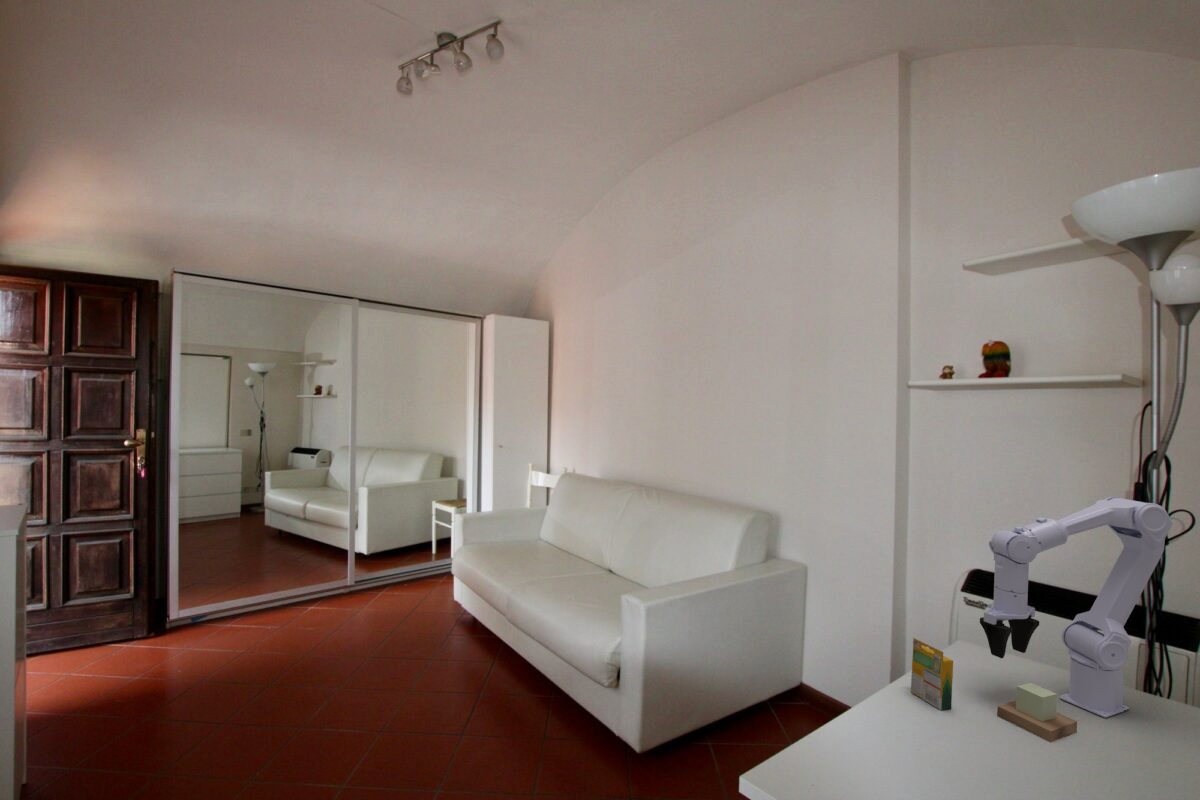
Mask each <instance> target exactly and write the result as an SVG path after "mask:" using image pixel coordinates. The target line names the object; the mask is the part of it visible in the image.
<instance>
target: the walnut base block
mask: <svg viewBox="0 0 1200 800" xmlns="http://www.w3.org/2000/svg"><path fill="white" fill-rule="evenodd" d="M996 712H997V713H996V715H997V717H998V718H1001V719H1002V720H1004V721H1007V722H1008V723H1010V724H1013V725H1015V726H1017V727H1019V728H1021V729H1023V730H1024V731H1027V732H1029V733H1031V734H1033V735H1036V736H1037V737H1039V738H1041V739H1043V740H1046V741H1047V742H1049V743H1052V742H1055V741H1057V740H1060V739H1063V738H1065V737H1067V736H1070V735H1073V734H1075V733H1077V732H1078V721H1077V720H1075V719H1072V718H1070V717H1068V716H1065V715H1064V714H1061V713H1059V712H1057V711H1056V718H1053V719H1049V720H1046V721H1040V720H1038V719H1035V718H1033V717H1031V716H1029V715H1027V714H1025V713H1023V712H1021V711H1019V710H1017V709H1016V700H1013V701H1012V700H1011V701H1009V702H1005V703H1003V704H1000V705H997V711H996Z"/></svg>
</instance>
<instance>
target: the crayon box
mask: <svg viewBox="0 0 1200 800" xmlns="http://www.w3.org/2000/svg"><path fill="white" fill-rule="evenodd" d="M912 640H913V641H912V643H913V644H912V645H913V647H912V660H911V661H912V662H911V664H912V665H911V680H910V681H911V682H910V683H911V684H910V693H911V694H912V695H914V696H917V697H918V698H920V699H922V700H923V701H925V702H927V703H928V704H930V705H932V706H933V707H934V708H936V709H938V710H939V711H945V710H951V709H952V700H953V679H954V678H953V676H954V674H953V673H954V672H953V671H954V660H953V659H952V658H951V659H950V658H948V657H947V656H944V651H942V650H941V649H938V648H935V647H934V646H932V645H929V644H928V643H926V642H923V641H921V640H919V639H917V638H915V637H913V638H912Z"/></svg>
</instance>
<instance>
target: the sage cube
mask: <svg viewBox="0 0 1200 800" xmlns="http://www.w3.org/2000/svg"><path fill="white" fill-rule="evenodd" d="M1057 698H1058V694H1057V693H1056V692H1053V691H1051V690H1049V689H1047V688H1044V687H1042V686H1039V685H1037V684H1035V683H1032V682H1028V683H1024V684H1021V685H1016V695H1015V699H1016V709H1017V710H1019V711H1021V712H1023V713H1025V714H1027V715H1029V716H1031V717H1033V718H1035V719H1038V720H1040V721H1046V720H1049V719H1053V718H1056V712H1057V700H1058V699H1057Z"/></svg>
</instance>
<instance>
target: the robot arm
mask: <svg viewBox="0 0 1200 800" xmlns="http://www.w3.org/2000/svg"><path fill="white" fill-rule="evenodd" d="M1173 524H1174V523H1173V522H1172V519H1171V518H1170V515H1169V514H1168V512H1167V510H1166V509H1165V508H1164V507H1163V506H1162V505H1159V504H1157V503H1153V502H1144V501H1137V500H1133V499H1128V498H1127V499H1126V498H1123V497H1120V496H1109V497H1106V498H1105V499H1099V500H1097V501H1095V504H1093V505H1089V506H1088V507H1085V508H1084V509H1081V510H1078V511H1076V512H1074V513H1072V514H1069V515H1067V516H1064V517H1062V518H1061V519H1058V520H1056V519H1053V518H1049V517H1042V516H1041V517H1037V518H1035V521H1034V522H1031V523H1029V524H1026V525H1024V526H1020V525H1018V526H1016V527H1014V529H1013V530H1012V531H1010V530H1006V529H1002V530H999V531H997V532H996V533H995V534H994V535H992V537H991V540H990V541H988V547H989V549H990V551H991V552H992V553H993V561H994V576H993V578H994V579H993V581H994V582H993V602H990V603H987V607H988V608H989V609H988V610H987V611H983V617H980V618H979V623H980V626H981V627H982V629H983V630H984V633H985V635H986V639H987V643H988V647H989V651H990V654H991V655H992V656H994V657H997V658H999V659H1004V658H1005V654H1006V651H1007V645H1008V640H1009V638H1010V637H1011V638H1010V639H1011V647H1012V650H1013V651H1017V652H1019V653H1021V654H1025V653H1026V652H1027V649H1028V647H1029V644H1030V640H1031V638H1032V636H1033V634H1034V632H1035V631H1036V629H1037V628H1038V627H1039V626H1040V621H1039V619H1035V615H1036V608H1035V607H1034V606H1030V605H1028V597H1029V595H1028V594H1029V593H1028V592H1029V566H1030V563H1031V562H1033V561H1034V560H1035V558H1036V557H1037V555H1038V554H1040V553H1043V552H1046V551H1047V550H1048V551H1049V550H1050V549H1053V548H1057V547H1059V546H1063V545H1065V544H1066V543H1067V541H1068V538H1069V536H1072V535H1076V534H1079V533H1083V532H1087V531H1090V530H1093V529H1097V528H1100V527H1103V526H1107V527H1109V528H1110V530H1111V531H1112V532H1113V533H1115V535H1116V536H1117V537H1118V538H1119V539H1120V542H1121V543H1122V545H1123V548H1122V550H1121V552H1120V554H1119V556H1118V558H1117V559H1116V561H1115V564H1114V565H1113V567H1112V568H1111V571H1110V572H1109V574H1108V577H1107V578H1106V580H1105V582H1104V584H1103V586H1102V587H1101V589H1100V591H1099V593H1098V595H1097V597H1096V599H1095V600H1094V602H1093V605H1092V606H1091V608H1090V610H1088V611H1085V612H1084V611H1083V612H1081V613H1077V614H1076V615H1075V616H1074V618H1073V620H1072V621H1071V622H1070V623H1068V624H1066V625H1065V626H1064V628H1063V629H1062V632H1061V640H1062V642H1063V644H1064V646H1065V647H1066V648H1067V649H1068V650H1067V651H1068V654H1069V656H1070V658H1069V680H1068V681H1069V682H1068V683H1069V684H1068V685H1069V686H1068V688H1069V689H1068V690H1069V691H1068V692H1067V693H1065V694H1062V695H1061V694H1060V695H1059V699H1060V700H1063V701H1065V702H1067V703H1070V704H1072V705H1074V706H1077V707H1079V708H1081V709H1084V710H1086V711H1089V712H1090V713H1092V714H1095V715H1098V716H1100V717H1102V718H1110V717H1111V716H1115V715H1117V714H1120V713H1123V712H1125V711H1124V710H1126V711H1128V710H1127V709H1129V708H1130V707H1129V706H1127V705H1124V685H1125V684H1124V683H1125V682H1124V681H1125V677H1124V673H1123V671H1122V670H1121V668H1123V667H1124V665H1126V663H1127V661H1128V659H1129V648H1130V646H1131V643H1132V639H1131V638H1130V636H1129V634H1128V633H1127V631H1126V630H1125V628H1124V626H1125V625H1126V623H1127V620H1128V619H1129V617H1130V615H1131V613H1132V612H1133V610H1134V608H1135V606H1136V604H1137V602H1138V600H1139V598H1140V597H1141V595H1142V593H1143V591H1144V589H1145V587H1146V586H1147V584H1148V582H1149V580H1150V578H1151V577H1152V574H1153V573H1154V571H1155V570H1156V567H1157V566H1158V563H1159V562H1160V560H1161V557H1162V556H1163V553H1164V551H1165V540H1166V537H1167V535H1168V534H1169V532H1170V530H1171V528H1172V526H1173ZM1005 621H1008V626H1007V625H1005V623H1004V622H1005ZM1101 631H1102V632H1101ZM1129 710H1130V709H1129Z"/></svg>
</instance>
